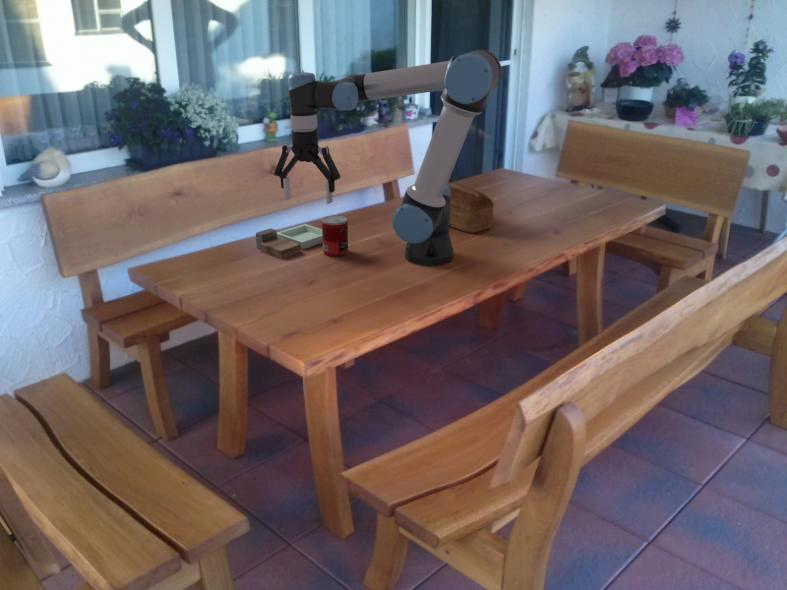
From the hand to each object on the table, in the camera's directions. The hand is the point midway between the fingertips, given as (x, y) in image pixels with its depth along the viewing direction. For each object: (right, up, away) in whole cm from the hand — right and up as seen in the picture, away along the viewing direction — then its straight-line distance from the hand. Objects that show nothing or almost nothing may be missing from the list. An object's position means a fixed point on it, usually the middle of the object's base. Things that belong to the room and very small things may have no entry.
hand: (308, 201), depth 223 cm
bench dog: (-15, -12, +17) cm, 26 cm away
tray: (-4, -10, +23) cm, 25 cm away
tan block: (-10, -15, +13) cm, 22 cm away
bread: (+46, -3, +41) cm, 62 cm away
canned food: (+7, -15, +12) cm, 20 cm away
